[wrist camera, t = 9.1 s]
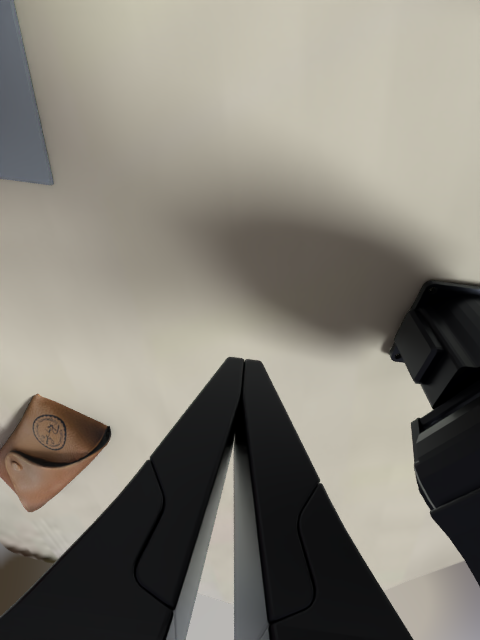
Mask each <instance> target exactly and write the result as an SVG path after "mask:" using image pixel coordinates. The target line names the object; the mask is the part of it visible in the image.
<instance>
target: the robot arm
mask: <svg viewBox="0 0 480 640" xmlns="http://www.w3.org/2000/svg"><path fill="white" fill-rule="evenodd" d="M432 287H435V288H434V289H433V290H432V291H429V289H430V288H432ZM394 341H395V342H394V344H393V346H392V348H391V350H390V353H389V355H390V357H391V359H392V360H393V361H396V362H403V363H405V364H406V366H407V369H408V371H409V373H410V375H411V377H412V379H413V381H414V382H415V383H416V384H421V386H422V388H423V390H424V392H425V394H426V396H427V398H428V401H429V403H430V405H431V407H432V408H433V409H434V410H432V411H431V412H429V413H428V414H426V415H425V416H423V417H422V418H417V419H416V420H414V421H413V422H411V430H412V441H413V452H414V471H415V474H416V480H417V484H418V487H419V492H420V494H421V495H422V496H423V498H424V500H425V502H426V504H427V505H428V507H429V508H430V510H431V511H430V515H431V517H432V518H433V520H434V521H435V522H436V523H437V524H438V525H439V527H440V528H441V529H442V530H443V531H444V532H445V533H446V535H447V536H448V537H449V538H450V540H451V541H452V543H453V544H454V545H455V547H456V548H457V550H458V551H459V553H460V554H461V555H462V557H463V558H464V560H465V561H466V563H467V565H468V567H469V568H470V570H471V572H472V573H473V575H474V577H475V579H476V581H477V582H478V584H479V586H480V287H479V286H471V285H464V284H456V283H449V282H441V281H428V282H426V283H425V284H424V285H423V286H422V288H421V290H420V292H419V294H418V296H417V298H416V300H415V302H414V304H413V306H412V308H411V310H409V311H408V312H407V314H406V316H405V318H404V320H403V322H402V324H401V326H400V328H399V330H398V332H397V334H396V336H395V338H394ZM396 354H399V355H396ZM234 437H235V439H234ZM233 443H234V640H413V638H412V637H411V635H410V633H409V632H408V630H407V628H406V627H405V625H404V624H403V622H402V621H401V619H400V617H399V616H398V614H397V613H396V611H395V609H394V608H393V606H392V604H391V603H390V601H389V600H388V598H387V596H386V595H385V593H384V592H383V590H382V588H381V587H380V585H379V584H378V582H377V580H376V579H375V577H374V575H373V574H372V572H371V571H370V569H369V567H368V566H367V564H366V563H365V561H364V559H363V558H362V556H361V554H360V553H359V551H358V549H357V548H356V546H355V544H354V543H353V541H352V539H351V537H350V536H349V534H348V532H347V531H346V529H345V527H344V525H343V523H342V521H341V520H340V518H339V516H338V514H337V512H336V510H335V508H334V506H333V505H332V503H331V501H330V499H329V497H328V495H327V493H326V490H325V488H324V486H323V484H321V483H320V479H319V477H318V475H317V473H316V471H315V469H314V467H313V465H312V463H311V461H310V458H309V456H308V454H307V452H306V450H305V448H304V446H303V444H302V442H301V440H300V438H299V436H298V434H297V432H296V430H295V428H294V426H293V424H292V422H291V420H290V418H289V416H288V414H287V412H286V410H285V408H284V406H283V404H282V402H281V400H280V398H279V396H278V394H277V392H276V390H275V388H274V386H273V384H272V382H271V380H270V378H269V376H268V374H267V372H266V370H265V368H264V365H263V364H262V362H261V361H258V360H251V359H246V360H245V362H244V359H242V358H236V357H228V358H227V359H226V360H225V361H224V363H223V364H222V365H221V367H220V368H219V369H218V370H217V372H216V373H215V374H214V376H213V377H212V378H211V379H210V381H209V382H208V383H207V384H206V386H205V387H204V388H203V390H202V391H201V392H200V393H199V395H198V396H197V397H196V399H195V400H194V401H193V402H192V404H191V405H190V406H189V407H188V409H187V410H186V411H185V413H184V414H183V415H182V416H181V418H180V419H179V420H178V422H177V423H176V424H175V425H174V427H173V428H172V429H171V430H170V432H169V433H168V434H167V436H166V437H165V438H164V439H163V441H162V442H161V443H160V445H159V446H158V447H157V448H156V450H155V451H154V452H153V454H152V455H151V456H150V460H147V461H146V462H145V463H144V465H143V466H142V467H141V469H140V470H139V471H138V472H137V474H136V475H135V476H134V477H133V479H132V480H131V481H130V482H129V483H128V485H127V486H126V487H125V488H124V489H123V491H122V492H121V493H120V494H119V495H118V497H117V498H116V499H115V500H114V501H113V502H112V503H111V504H110V505H109V506H108V508H107V509H106V510H105V511H104V512H103V513H102V514H101V515H100V516H99V517H98V518H97V519H96V521H95V522H94V523H93V524H92V525H91V526H90V527H89V528H88V529H87V530H86V531H85V532H84V533H83V534H82V535H81V536H80V537H79V538H78V539H77V540H76V541H75V542H74V543H73V544H72V545H71V546H70V548H69V549H68V550H67V551H66V552H65V553H64V554H63V555H62V556H61V557H60V558H59V559H58V560H57V561H56V562H55V563H54V564H53V565H52V566H51V567H50V568H49V569H48V570H47V571H46V572H45V573H44V574H43V575H42V576H41V578H39V579H38V581H37V582H36V583H35V584H34V585H33V586H32V587H31V588H30V589H29V590H28V591H27V592H26V593H25V594H24V595H23V596H22V597H21V598H20V599H19V600H18V601H17V602H16V603H15V604H14V605H13V606H12V607H10V608H9V609H8V610H7V611H6V612H5V613H4V614H3V615H2V616H1V617H0V640H186V635H187V631H188V627H189V623H190V619H191V615H192V611H193V607H194V603H195V599H196V595H197V591H198V587H199V583H200V579H201V575H202V571H203V567H204V563H205V559H206V555H207V550H208V546H209V542H210V538H211V534H212V530H213V526H214V522H215V518H216V514H217V510H218V506H219V502H220V498H221V494H222V490H223V486H224V482H225V478H226V473H227V469H228V465H229V461H230V457H231V453H232V448H233Z"/></svg>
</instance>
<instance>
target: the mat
mask: <svg viewBox="0 0 480 640" xmlns="http://www.w3.org/2000/svg"><path fill="white" fill-rule="evenodd" d="M0 179H7V180H15V181H23V182H30V183H38V184H45V185H53V184H54V182H53V178H52V173H51V169H50V164H49V160H48V155H47V150H46V146H45V141H44V137H43V132H42V128H41V123H40V119H39V114H38V109H37V105H36V100H35V96H34V91H33V87H32V82H31V78H30V73H29V68H28V64H27V59H26V55H25V50H24V46H23V41H22V37H21V32H20V27H19V23H18V18H17V14H16V9H15V5H14V0H0Z"/></svg>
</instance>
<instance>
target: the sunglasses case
mask: <svg viewBox="0 0 480 640" xmlns="http://www.w3.org/2000/svg"><path fill="white" fill-rule="evenodd" d="M110 437H111V430H110V426H106V425H104V424H103V423H101V422H98V421H96V420H94V419H92V418H90V417H87V416H85V415H83V414H81V413H79V412H77V411H75V410H72V409H70V408H68V407H66V406H64V405H62V404H59V403H57V402H55V401H52V400H49V399H47V398H44V397H42V396H40V395H39V394H36V395H34V396H33V398H32V400H31V402H30V403H29V405H28V407H27V409H26V411H25V413H24V415H23V417H22V419H21V421H20V422H19V424H18V426H17V427H16V429H15V430H14V432H13V433H12V435H11V436H10V437H9V439H8V440H7V442H6V443H5V445H4V446H3V447H2V448H1V450H0V477H1V478H2V479H3V480H4V481H5V482H6V484H8V485H9V486H10V487H11V489H12V490H13V491H14V492H15V493H16V494H17V495H18V497H19V499H20V501H21V503H22V505H23V507H24V508H25V509H26V510H27V511H28V512H33V511H35V510H37V509H39V508H41V507H42V506H43V505H45V504H46V503H47V502H48V501H49V500H50V499H52V498H53V497H54V496H55V495H57V494H58V493H59V492H60V491H61V490H62V489H63V488H64V487H65V486H66V485H67V484H68V483H70V482H71V481H72V480H73V479H74V478H75V477H76V476H77V475H78V474H79V473H80V472H81V471H82V470H83V469H84V468H86V466H88V465H89V464H90V463H91V461H92V460H93V459H94V458H95V457H96V456H97V455H98V454H99V453H100V451H101V450H102V449H103V448H104V447H105V446H106V445H107V444H108V442H109V440H110Z"/></svg>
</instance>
